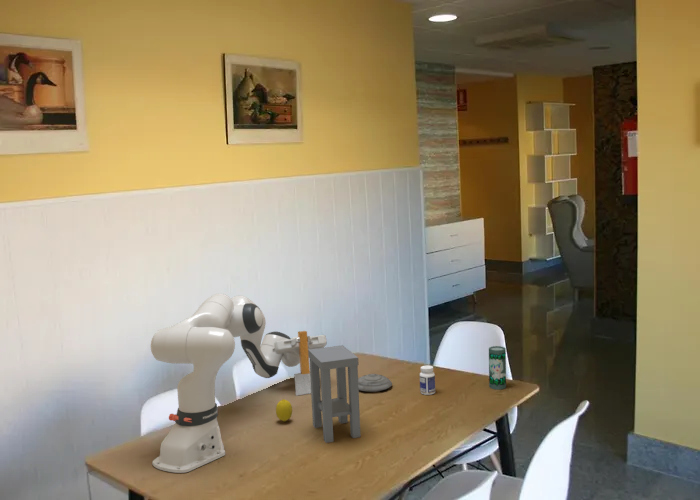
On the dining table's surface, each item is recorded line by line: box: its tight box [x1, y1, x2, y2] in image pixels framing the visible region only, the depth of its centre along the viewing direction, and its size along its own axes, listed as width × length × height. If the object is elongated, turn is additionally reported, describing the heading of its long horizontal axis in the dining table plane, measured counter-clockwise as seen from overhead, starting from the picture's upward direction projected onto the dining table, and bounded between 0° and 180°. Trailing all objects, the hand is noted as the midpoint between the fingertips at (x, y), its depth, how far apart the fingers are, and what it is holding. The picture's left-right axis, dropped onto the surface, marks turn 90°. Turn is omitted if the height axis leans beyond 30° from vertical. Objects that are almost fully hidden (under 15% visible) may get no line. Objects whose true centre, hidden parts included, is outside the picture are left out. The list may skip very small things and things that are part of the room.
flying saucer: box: [358, 373, 393, 393], centre depth 258 cm, size 15×15×6 cm
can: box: [488, 345, 507, 391], centre depth 252 cm, size 6×6×15 cm
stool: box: [308, 344, 361, 444], centre depth 215 cm, size 16×12×26 cm
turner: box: [293, 330, 311, 396], centre depth 253 cm, size 24×8×2 cm
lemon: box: [275, 398, 293, 423], centre depth 226 cm, size 6×6×8 cm
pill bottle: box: [419, 364, 436, 396], centre depth 249 cm, size 6×6×10 cm
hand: (303, 338), depth 251 cm, fingers closed on turner, 3 cm apart
